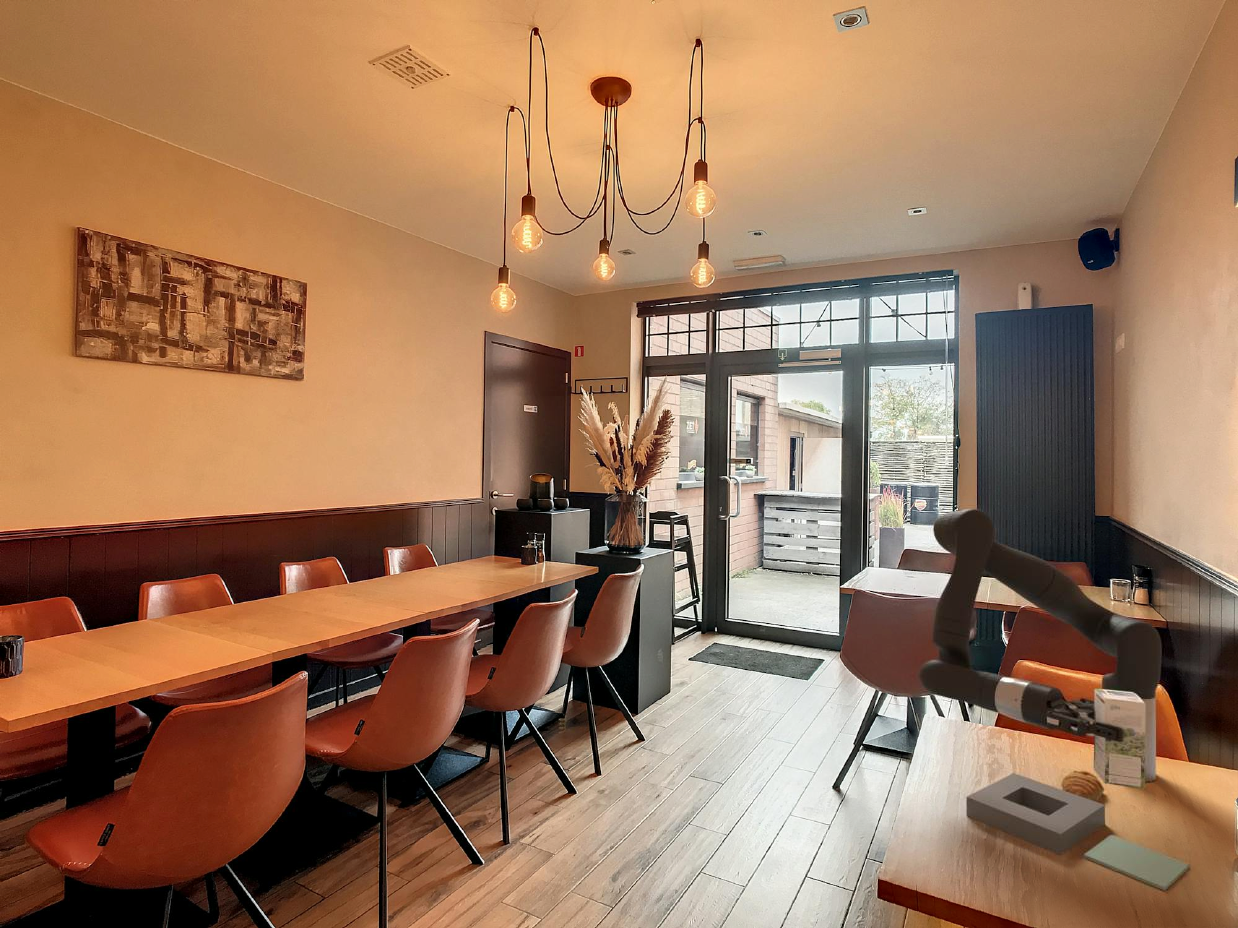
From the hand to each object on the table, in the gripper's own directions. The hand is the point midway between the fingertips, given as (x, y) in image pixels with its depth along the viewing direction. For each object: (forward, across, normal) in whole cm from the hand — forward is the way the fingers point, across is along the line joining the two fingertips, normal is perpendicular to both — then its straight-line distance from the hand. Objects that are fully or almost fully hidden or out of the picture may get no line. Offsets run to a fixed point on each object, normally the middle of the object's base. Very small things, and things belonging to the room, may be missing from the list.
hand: (1133, 730), depth 112 cm
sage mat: (0, 0, +22) cm, 22 cm away
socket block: (-16, +1, +22) cm, 27 cm away
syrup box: (-2, 0, +9) cm, 9 cm away
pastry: (-15, +20, +22) cm, 34 cm away
